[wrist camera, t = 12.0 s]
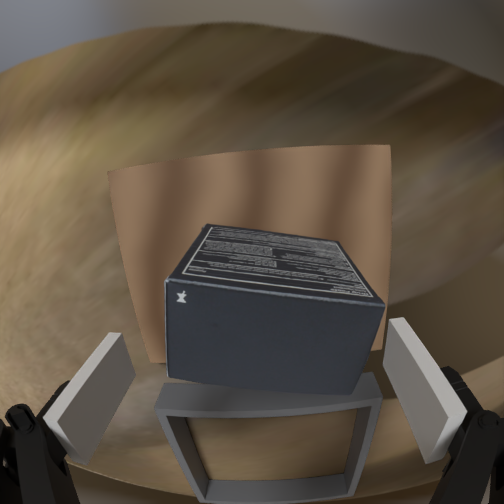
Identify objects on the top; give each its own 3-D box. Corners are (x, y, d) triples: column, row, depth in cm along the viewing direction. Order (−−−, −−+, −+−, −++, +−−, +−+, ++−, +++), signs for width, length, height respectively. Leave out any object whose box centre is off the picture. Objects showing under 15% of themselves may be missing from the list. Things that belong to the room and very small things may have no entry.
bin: (372, 371, 29) (383, 396, 25) (349, 475, 35) (353, 495, 32) (164, 383, 30) (153, 408, 27) (203, 482, 37) (199, 502, 33)
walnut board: (383, 145, 22) (390, 145, 21) (376, 340, 28) (381, 349, 26) (115, 170, 24) (107, 171, 22) (154, 353, 29) (150, 362, 28)
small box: (198, 298, 25) (161, 382, 15) (203, 221, 23) (158, 272, 13) (324, 314, 25) (352, 402, 15) (341, 239, 23) (390, 300, 13)
